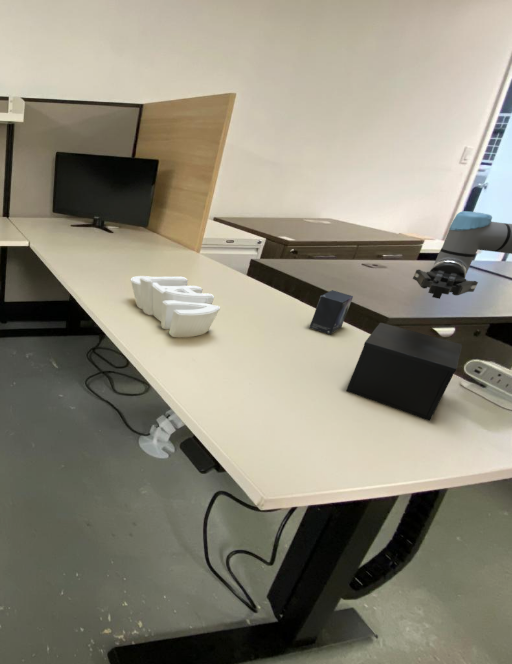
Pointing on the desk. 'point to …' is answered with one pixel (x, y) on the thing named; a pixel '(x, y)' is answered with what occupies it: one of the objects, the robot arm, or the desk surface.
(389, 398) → the black box body
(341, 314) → the small box
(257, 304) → the desk surface
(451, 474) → the desk surface
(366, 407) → the desk surface
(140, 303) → the white letter sign
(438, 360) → the black box lid
